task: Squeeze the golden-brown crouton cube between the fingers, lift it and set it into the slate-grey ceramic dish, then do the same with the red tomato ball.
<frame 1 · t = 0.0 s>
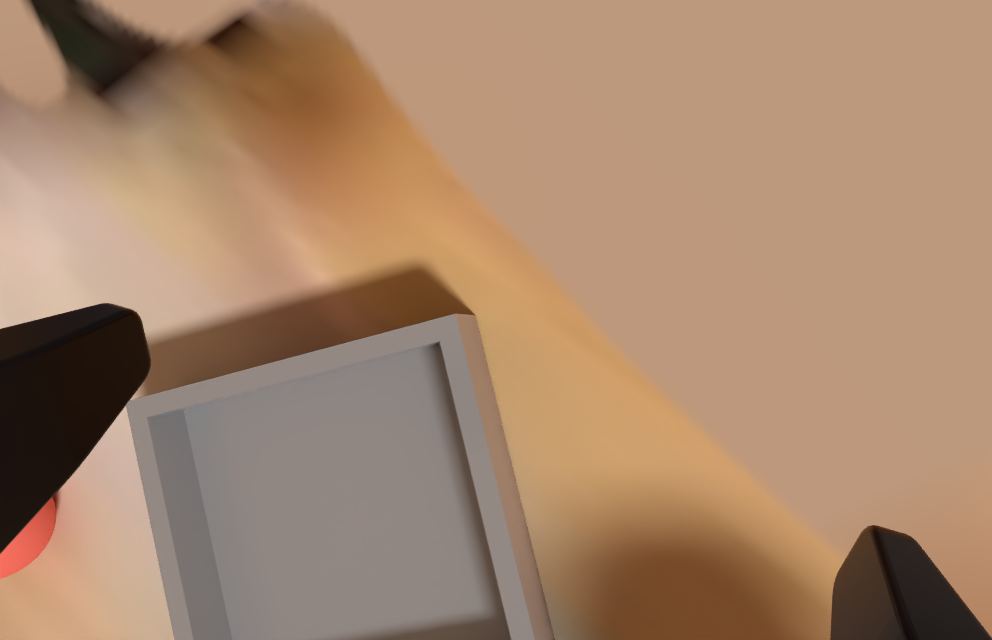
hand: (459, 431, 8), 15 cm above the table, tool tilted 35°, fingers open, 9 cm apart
tomato: (38, 509, 27), on the table
dish: (355, 522, 24), on the table
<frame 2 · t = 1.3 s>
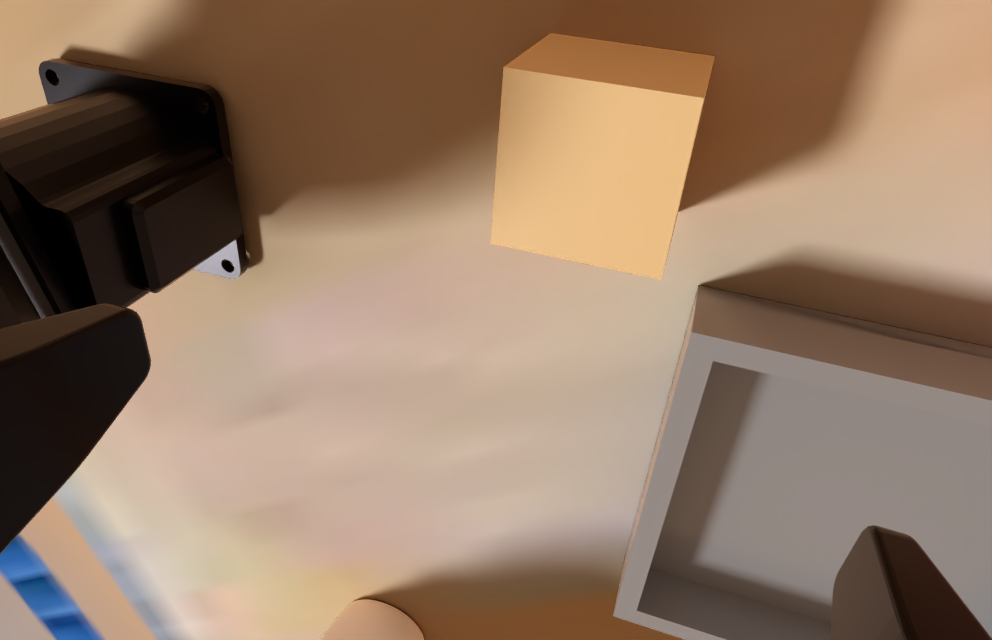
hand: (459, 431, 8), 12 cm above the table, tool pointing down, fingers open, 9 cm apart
soft serve ice cream cone: (387, 624, 34), on the table
crouton: (617, 124, 18), on the table
dish: (850, 494, 21), on the table
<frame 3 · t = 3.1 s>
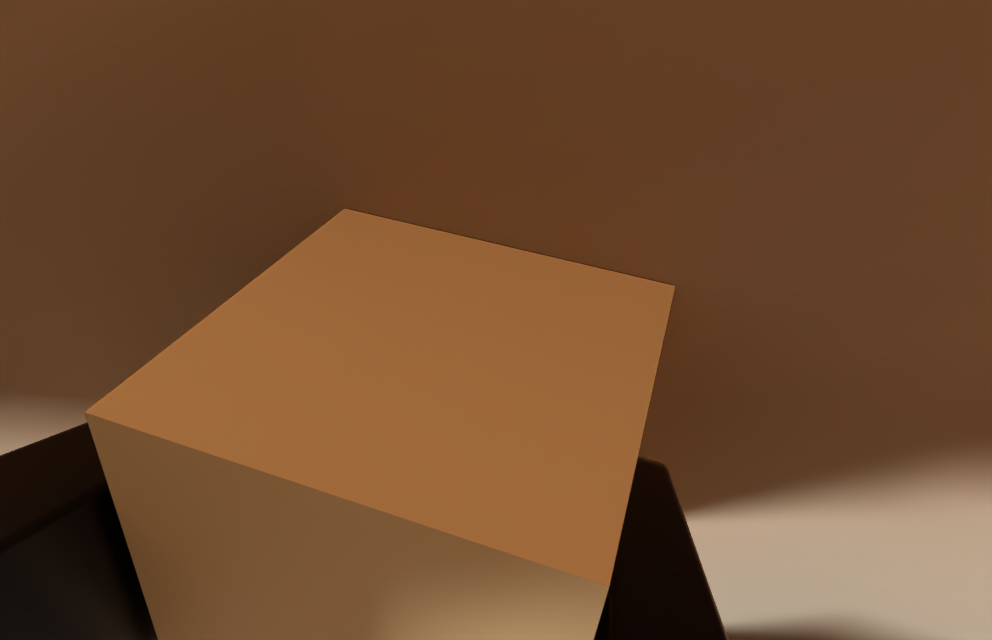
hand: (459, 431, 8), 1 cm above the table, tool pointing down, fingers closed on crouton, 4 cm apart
crouton: (487, 380, 9), on the table, touching gripper
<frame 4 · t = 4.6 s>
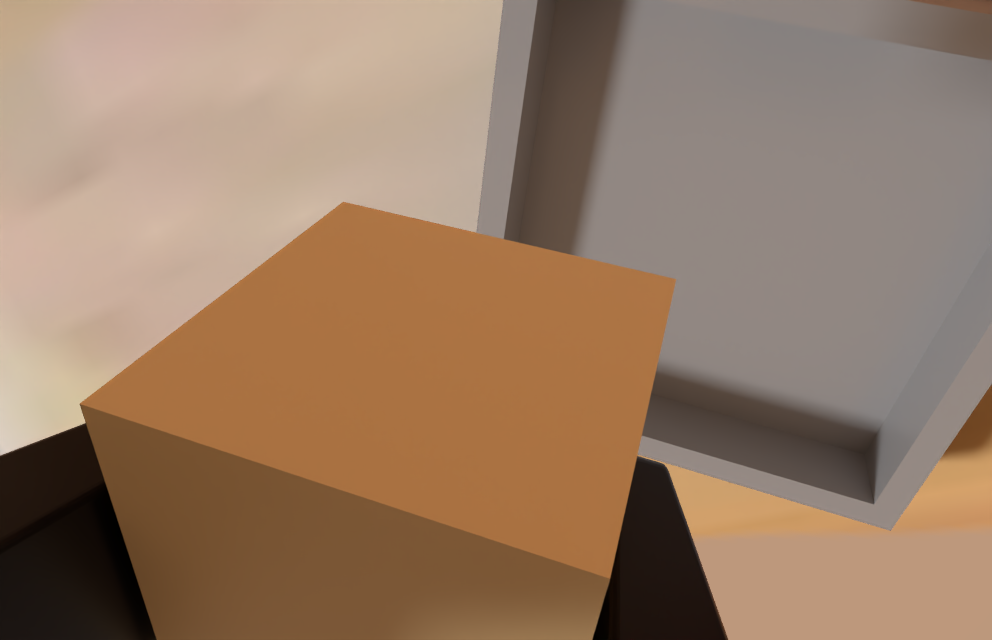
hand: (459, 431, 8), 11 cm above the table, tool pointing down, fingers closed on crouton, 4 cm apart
crouton: (486, 375, 9), point 10 cm above the table, touching gripper
dish: (731, 230, 18), on the table
when the fingers open (3 cm above the table, at t = 6.5 s): crouton drops 2 cm, resting on dish.
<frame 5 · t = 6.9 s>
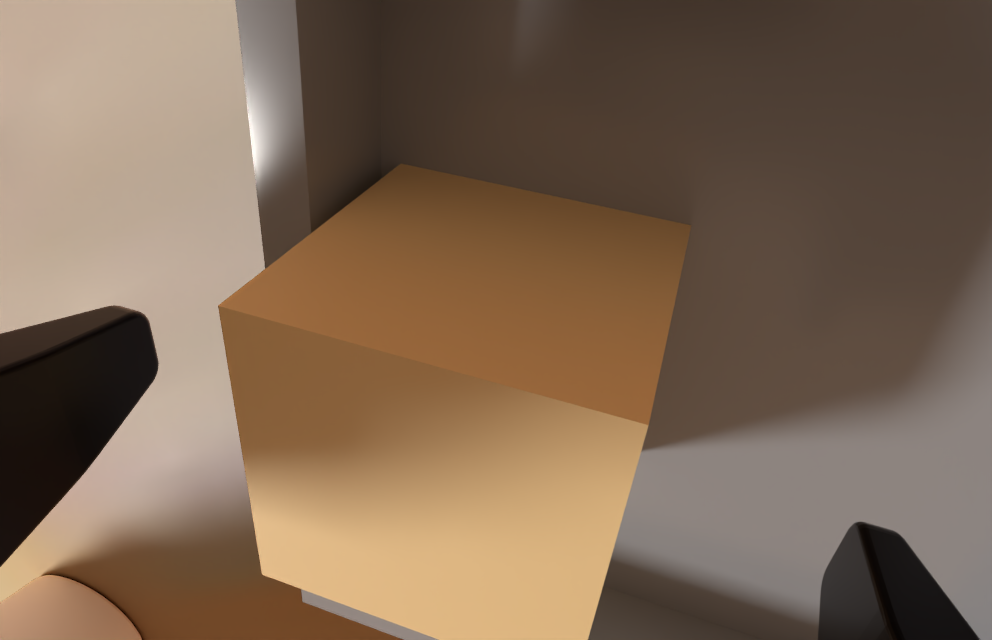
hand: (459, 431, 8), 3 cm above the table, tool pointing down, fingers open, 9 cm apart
soft serve ice cream cone: (96, 613, 23), on the table
crouton: (522, 317, 10), point 1 cm above the table, touching dish
dish: (728, 350, 10), on the table
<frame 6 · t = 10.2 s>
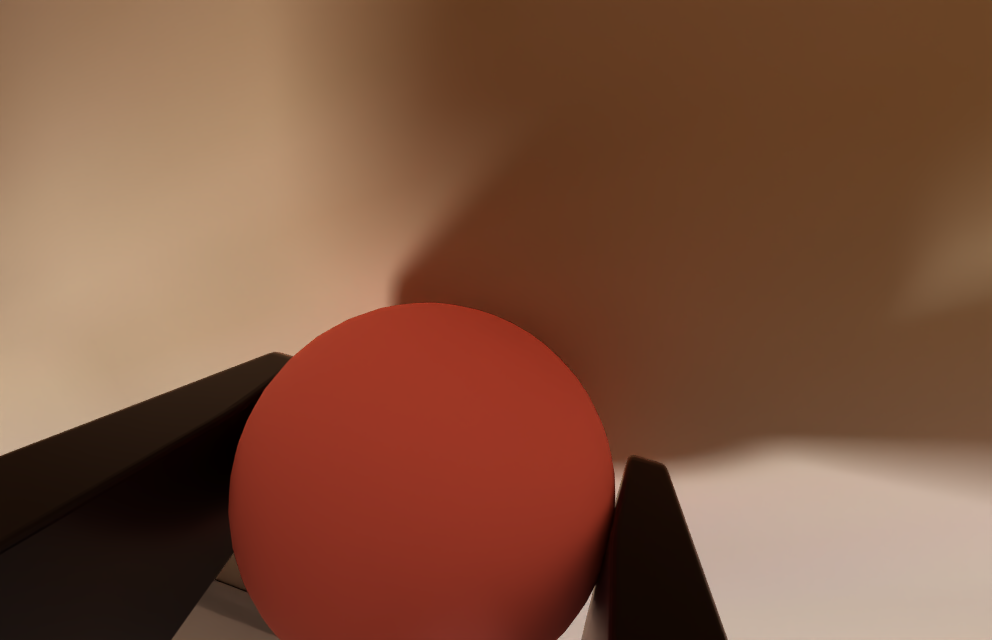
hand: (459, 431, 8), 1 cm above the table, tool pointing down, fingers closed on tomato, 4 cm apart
tomato: (487, 380, 9), on the table, touching gripper
when the fingers open (3 cm above the table, at t = 13.7 s): tomato drops 1 cm, resting on dish.
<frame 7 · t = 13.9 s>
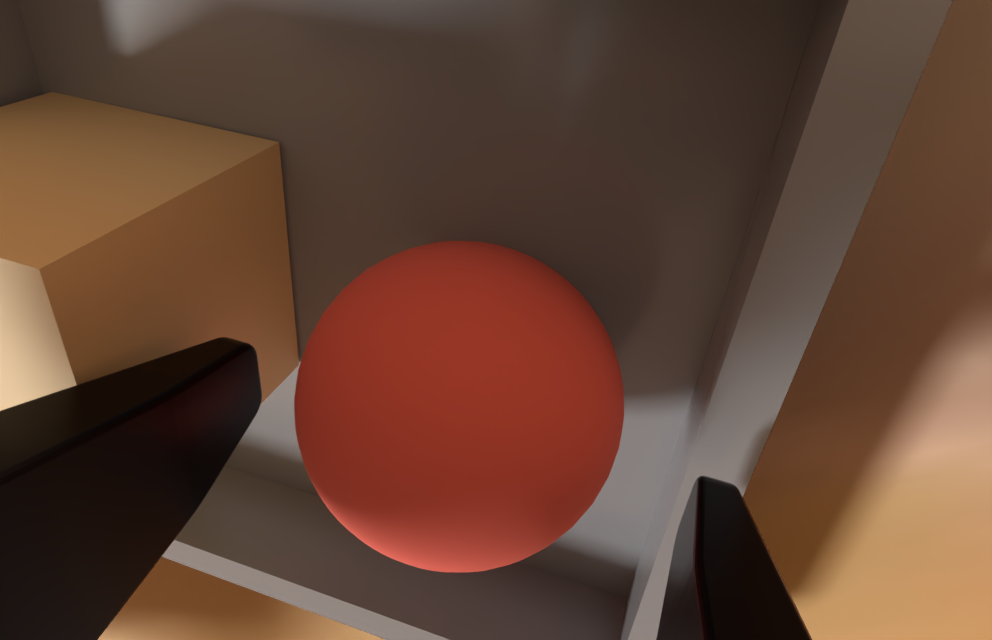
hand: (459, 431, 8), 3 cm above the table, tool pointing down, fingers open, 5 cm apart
tomato: (508, 319, 10), point 1 cm above the table, touching dish
crouton: (183, 236, 11), point 1 cm above the table, touching dish, gripper
dish: (373, 264, 11), on the table
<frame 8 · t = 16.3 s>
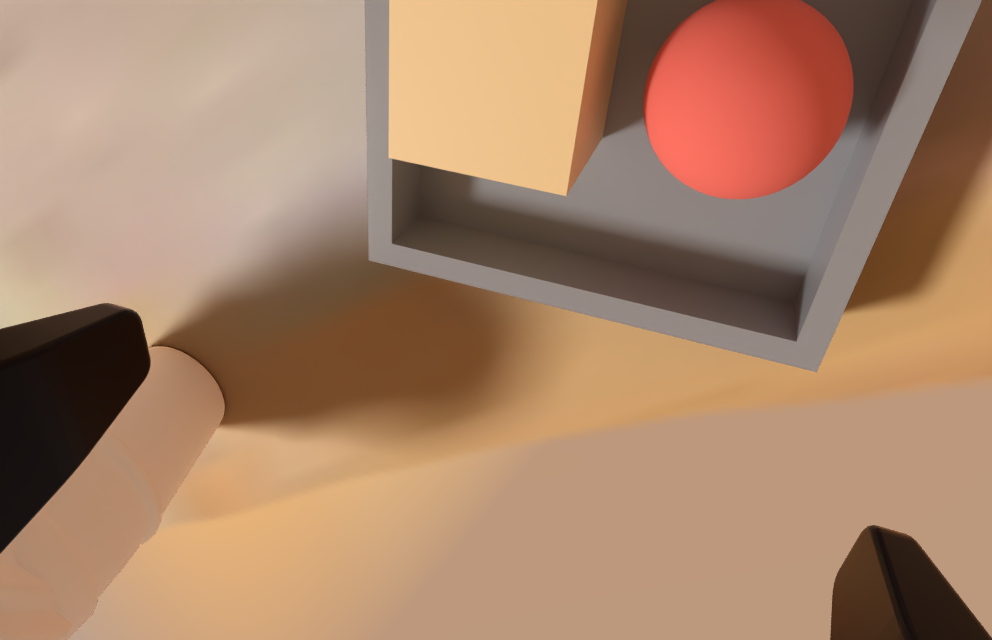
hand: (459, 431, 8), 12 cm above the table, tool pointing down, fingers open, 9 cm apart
tomato: (742, 76, 16), point 1 cm above the table, touching dish
soft serve ice cream cone: (185, 385, 29), on the table
crouton: (536, 42, 17), point 1 cm above the table, touching dish
dish: (637, 54, 17), on the table
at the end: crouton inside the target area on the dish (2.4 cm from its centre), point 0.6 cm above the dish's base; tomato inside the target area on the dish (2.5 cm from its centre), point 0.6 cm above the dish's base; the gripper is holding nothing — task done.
